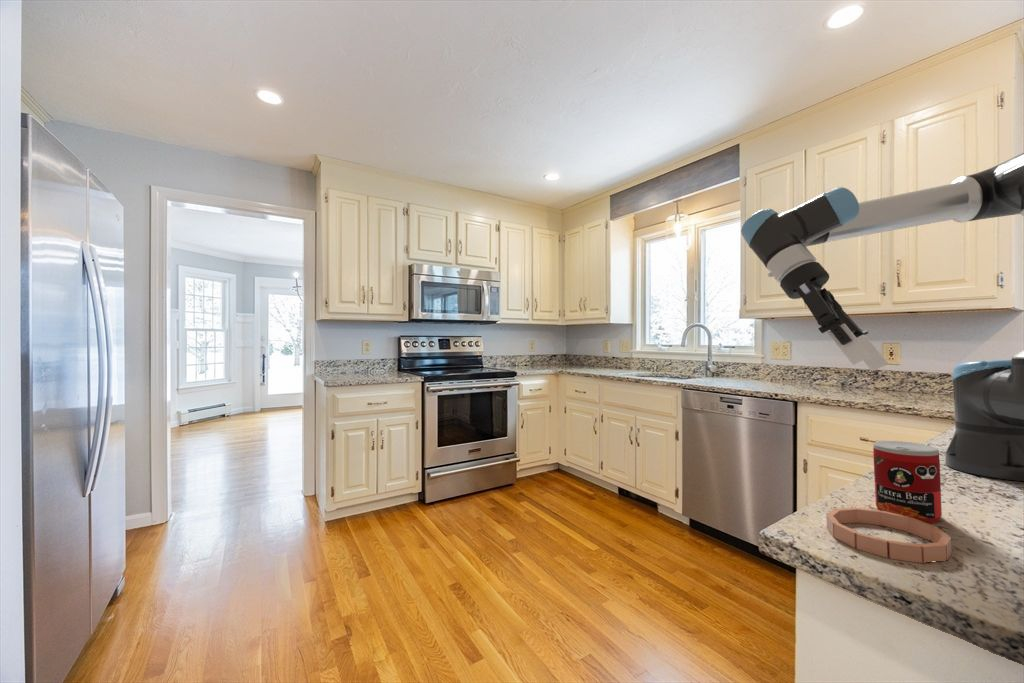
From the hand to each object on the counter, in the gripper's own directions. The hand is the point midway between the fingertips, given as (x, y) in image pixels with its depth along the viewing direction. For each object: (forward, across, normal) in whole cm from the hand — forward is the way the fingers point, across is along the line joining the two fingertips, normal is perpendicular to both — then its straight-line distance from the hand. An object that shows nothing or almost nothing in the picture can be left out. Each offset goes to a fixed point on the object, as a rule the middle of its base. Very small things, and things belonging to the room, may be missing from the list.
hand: (871, 364), depth 71 cm
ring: (+24, +13, -11) cm, 29 cm away
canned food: (+23, -1, -9) cm, 25 cm away
